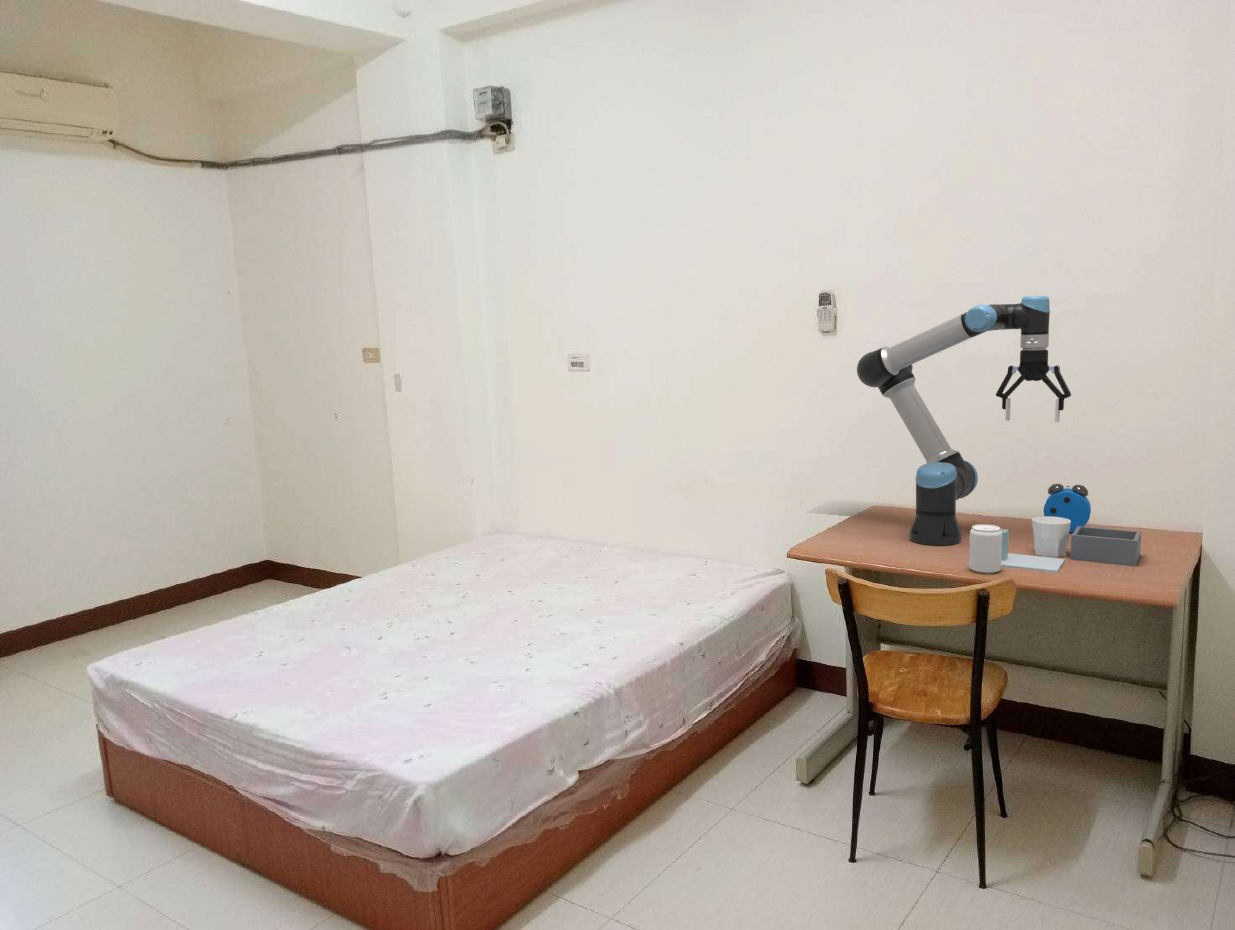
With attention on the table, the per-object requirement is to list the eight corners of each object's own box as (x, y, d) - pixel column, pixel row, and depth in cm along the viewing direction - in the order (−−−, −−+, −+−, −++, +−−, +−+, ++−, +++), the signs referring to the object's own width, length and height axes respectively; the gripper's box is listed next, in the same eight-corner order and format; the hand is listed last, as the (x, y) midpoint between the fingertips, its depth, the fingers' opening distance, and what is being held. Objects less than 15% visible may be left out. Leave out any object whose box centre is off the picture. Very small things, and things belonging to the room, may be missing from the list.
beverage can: (963, 567, 250) (964, 525, 248) (992, 565, 251) (993, 523, 249) (977, 575, 242) (978, 531, 240) (1006, 573, 243) (1008, 529, 241)
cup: (1023, 552, 263) (1024, 519, 261) (1048, 547, 266) (1049, 515, 265) (1051, 560, 253) (1053, 525, 252) (1077, 555, 257) (1078, 521, 256)
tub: (1070, 559, 253) (1071, 535, 252) (1076, 549, 263) (1077, 526, 262) (1135, 566, 244) (1137, 541, 243) (1140, 555, 254) (1141, 531, 253)
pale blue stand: (986, 566, 252) (986, 534, 250) (996, 555, 262) (997, 525, 261) (1057, 574, 241) (1058, 541, 240) (1064, 562, 252) (1066, 531, 251)
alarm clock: (1090, 530, 284) (1092, 483, 282) (1089, 534, 279) (1091, 487, 277) (1044, 527, 291) (1045, 481, 288) (1042, 531, 286) (1044, 484, 283)
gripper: (986, 350, 270) (985, 421, 273) (1079, 349, 256) (1076, 423, 259) (992, 349, 276) (990, 418, 279) (1083, 347, 262) (1080, 420, 265)
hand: (1032, 421), depth 269 cm, fingers open, 13 cm apart
